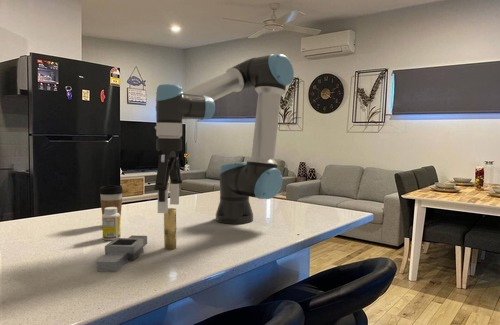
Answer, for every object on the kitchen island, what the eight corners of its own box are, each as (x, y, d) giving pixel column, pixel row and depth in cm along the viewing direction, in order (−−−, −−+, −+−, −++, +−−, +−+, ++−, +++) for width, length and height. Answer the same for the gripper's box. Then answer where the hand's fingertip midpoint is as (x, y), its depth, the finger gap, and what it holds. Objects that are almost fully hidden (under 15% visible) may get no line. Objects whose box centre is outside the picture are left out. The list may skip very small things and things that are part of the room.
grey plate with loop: (127, 243, 121) (126, 230, 121) (151, 243, 121) (151, 231, 120) (91, 271, 97) (90, 255, 96) (122, 271, 96) (121, 256, 96)
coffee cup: (116, 228, 138) (115, 187, 137) (95, 227, 140) (94, 187, 139) (127, 223, 147) (127, 184, 145) (108, 222, 148) (107, 183, 147)
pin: (177, 246, 118) (177, 208, 117) (174, 250, 114) (174, 210, 113) (166, 246, 118) (165, 208, 117) (162, 249, 114) (162, 210, 113)
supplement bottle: (114, 235, 130) (114, 205, 129) (123, 238, 126) (123, 207, 126) (99, 238, 126) (98, 208, 125) (108, 241, 122) (107, 210, 121)
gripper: (167, 137, 126) (167, 200, 127) (142, 137, 101) (143, 216, 103) (190, 137, 126) (189, 201, 127) (170, 138, 101) (170, 217, 102)
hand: (169, 208), depth 115 cm, fingers open, 13 cm apart
